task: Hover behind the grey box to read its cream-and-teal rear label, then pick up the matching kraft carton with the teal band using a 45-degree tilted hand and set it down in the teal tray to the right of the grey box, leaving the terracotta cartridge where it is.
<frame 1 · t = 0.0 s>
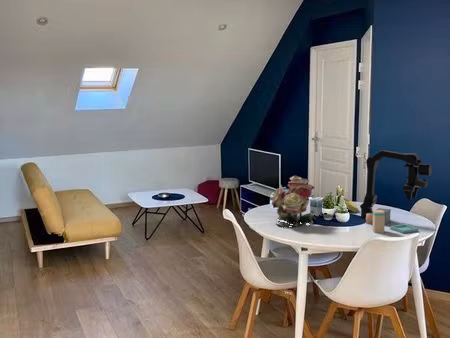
hand: (411, 199, 305), 15 cm above the table, tool pointing down, fingers open, 9 cm apart
plastic component: (347, 210, 348), on the table
rose bouquet: (293, 223, 314), on the table
light bulb box: (318, 214, 336), on the table
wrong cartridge: (369, 223, 309), on the table
grey box: (382, 223, 309), on the table
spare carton: (378, 231, 291), on the table
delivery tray: (404, 230, 292), on the table
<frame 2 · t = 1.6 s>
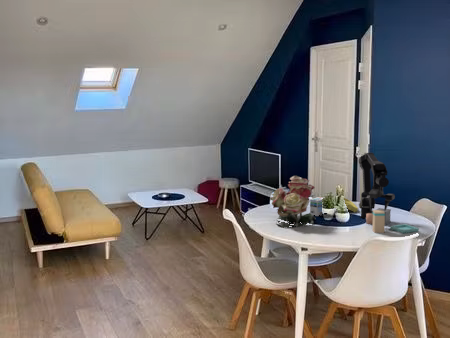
hand: (377, 209, 301), 10 cm above the table, tool pointing down, fingers open, 9 cm apart
nothing on the table moved.
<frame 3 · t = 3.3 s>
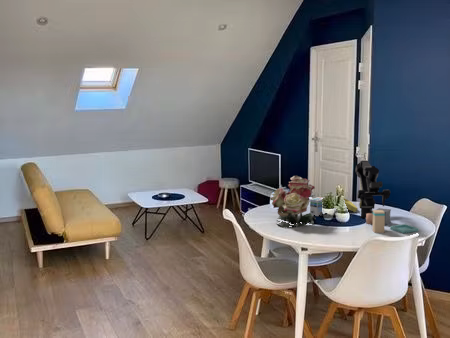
hand: (375, 205, 297), 13 cm above the table, tool tilted 45°, fingers open, 9 cm apart
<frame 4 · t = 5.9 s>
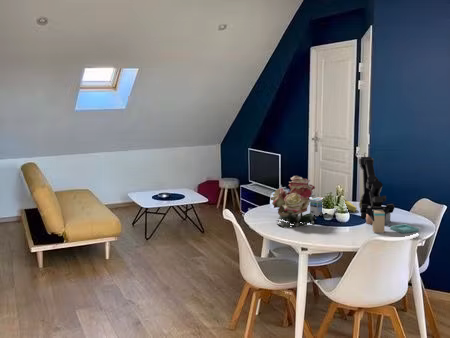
hand: (379, 220, 288), 7 cm above the table, tool tilted 45°, fingers closed on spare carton, 5 cm apart
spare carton: (378, 231, 291), on the table, touching gripper
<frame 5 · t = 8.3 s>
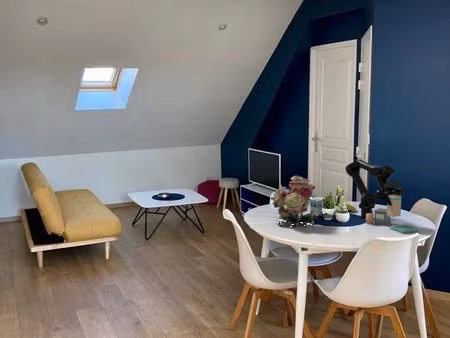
hand: (395, 205, 297), 13 cm above the table, tool tilted 45°, fingers closed on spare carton, 5 cm apart
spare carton: (393, 215, 300), point 7 cm above the table, touching gripper
when the fingers open (8 cm above the table, at t = 10.6 s): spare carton stays where it is, resting on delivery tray.
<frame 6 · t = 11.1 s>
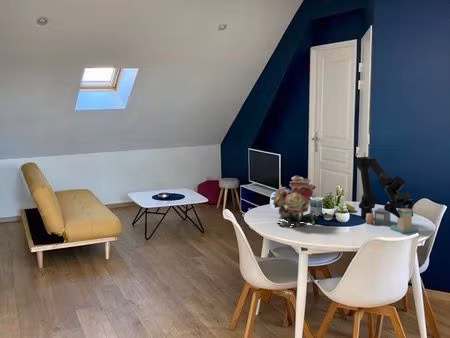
hand: (406, 217, 290), 8 cm above the table, tool tilted 45°, fingers open, 9 cm apart
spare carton: (404, 229, 292), point 1 cm above the table, touching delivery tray
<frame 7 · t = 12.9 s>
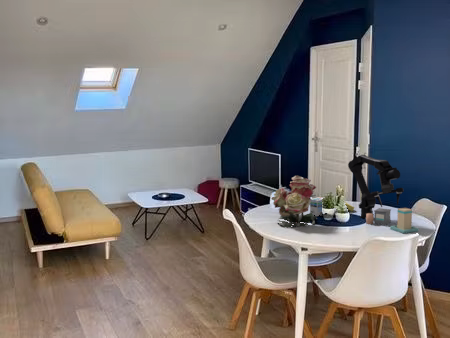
hand: (389, 206, 305), 11 cm above the table, tool tilted 15°, fingers open, 9 cm apart
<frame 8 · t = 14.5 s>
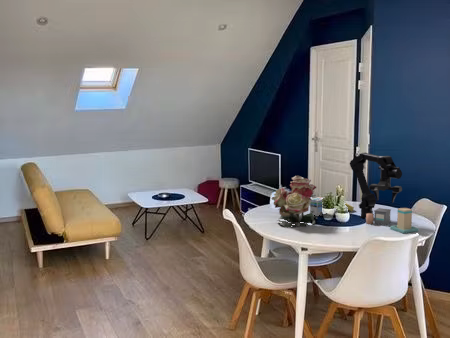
hand: (385, 201, 309), 13 cm above the table, tool pointing down, fingers open, 9 cm apart
at the end: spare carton inside the target area on the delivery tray (0.0 cm from its centre), point 0.6 cm above the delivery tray's base; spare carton tilted 0°; the gripper is holding nothing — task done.
